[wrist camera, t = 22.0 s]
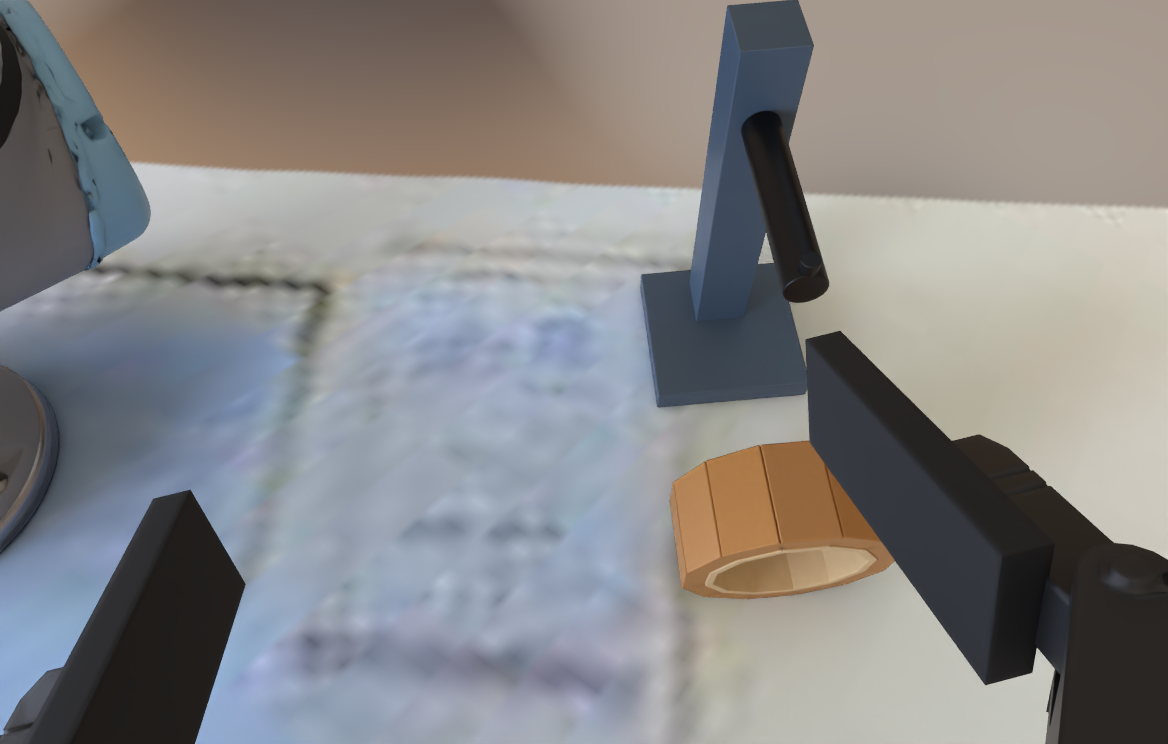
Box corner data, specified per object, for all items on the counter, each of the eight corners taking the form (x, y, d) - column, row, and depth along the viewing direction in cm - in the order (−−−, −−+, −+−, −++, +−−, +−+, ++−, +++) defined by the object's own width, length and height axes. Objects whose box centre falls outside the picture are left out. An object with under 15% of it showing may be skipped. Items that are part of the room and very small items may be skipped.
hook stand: (774, 276, 51) (863, -22, 32) (820, 455, 44) (962, 209, 26) (640, 287, 51) (652, -4, 32) (666, 468, 44) (699, 232, 26)
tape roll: (676, 606, 40) (693, 551, 32) (665, 522, 43) (677, 450, 34) (864, 589, 40) (932, 531, 32) (842, 507, 43) (900, 430, 34)
